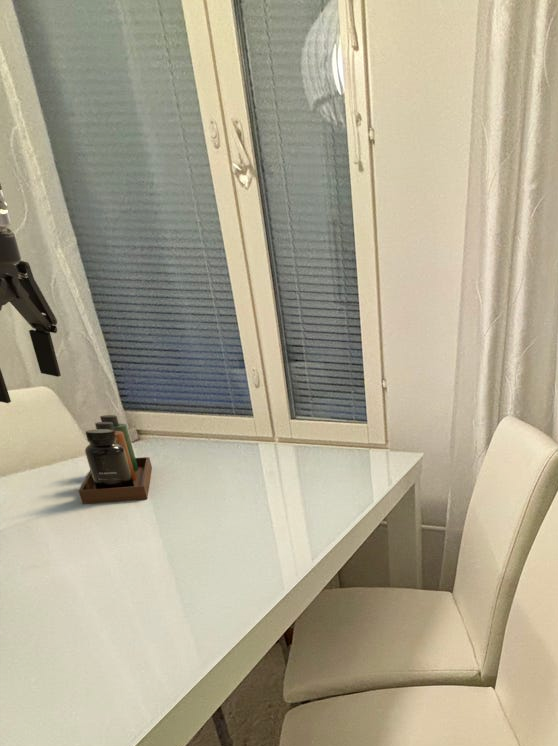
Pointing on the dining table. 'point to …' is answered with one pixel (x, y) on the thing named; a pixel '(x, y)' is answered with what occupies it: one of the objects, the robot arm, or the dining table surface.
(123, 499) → the tray
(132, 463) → the row bottles
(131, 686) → the dining table surface
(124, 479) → the supplement bottle
